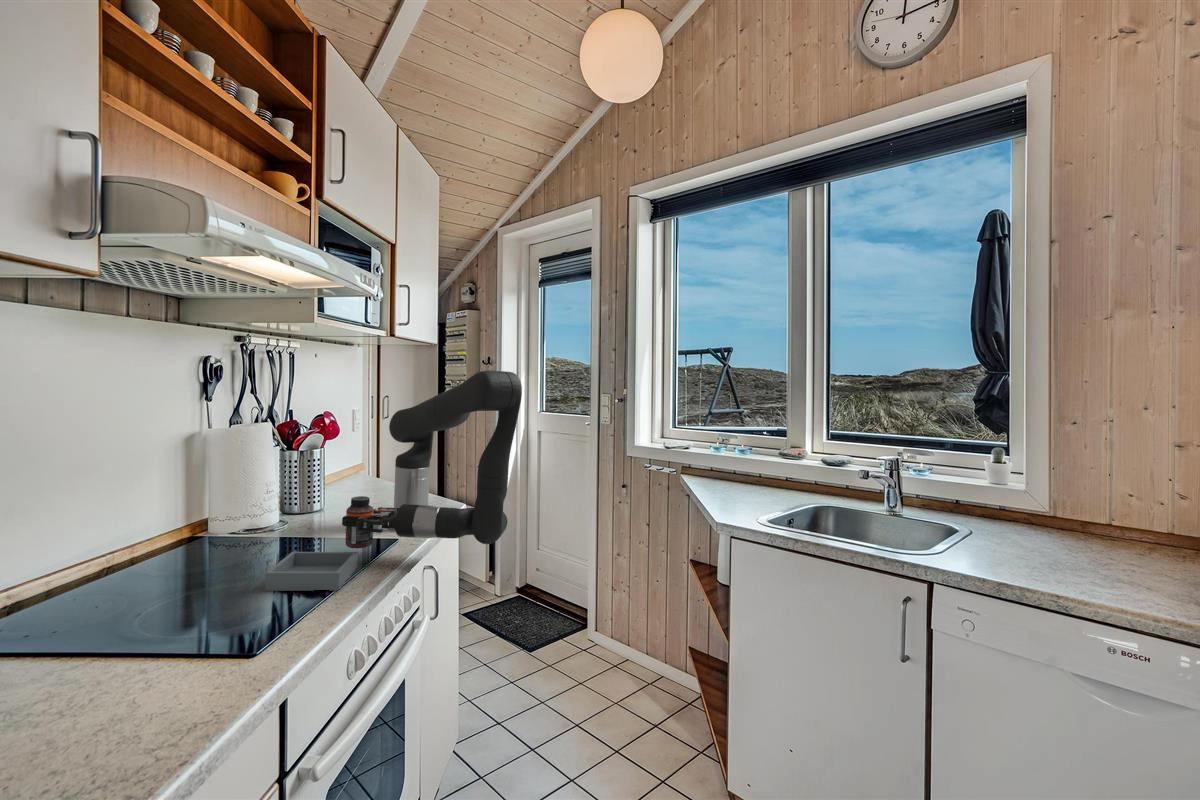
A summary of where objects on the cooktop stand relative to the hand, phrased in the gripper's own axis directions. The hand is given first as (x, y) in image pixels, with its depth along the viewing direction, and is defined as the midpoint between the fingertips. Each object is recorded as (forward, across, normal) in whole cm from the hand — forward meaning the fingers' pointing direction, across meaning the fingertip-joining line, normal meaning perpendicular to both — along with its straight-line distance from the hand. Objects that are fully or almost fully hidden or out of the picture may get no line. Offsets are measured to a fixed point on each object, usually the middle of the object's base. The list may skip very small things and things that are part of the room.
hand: (349, 517), depth 134 cm
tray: (0, +16, +9) cm, 18 cm away
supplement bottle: (-2, 0, +7) cm, 7 cm away
